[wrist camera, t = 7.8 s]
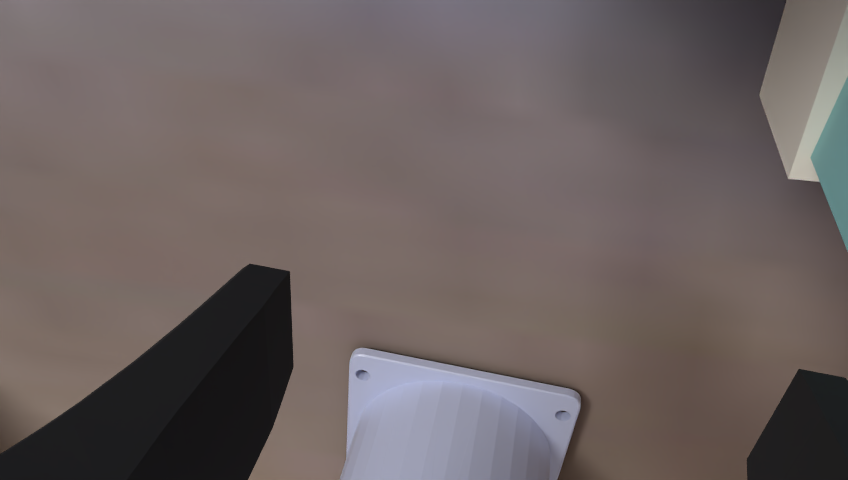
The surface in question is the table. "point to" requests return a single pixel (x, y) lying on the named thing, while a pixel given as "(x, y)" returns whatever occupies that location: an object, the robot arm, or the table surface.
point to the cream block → (805, 79)
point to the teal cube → (835, 161)
